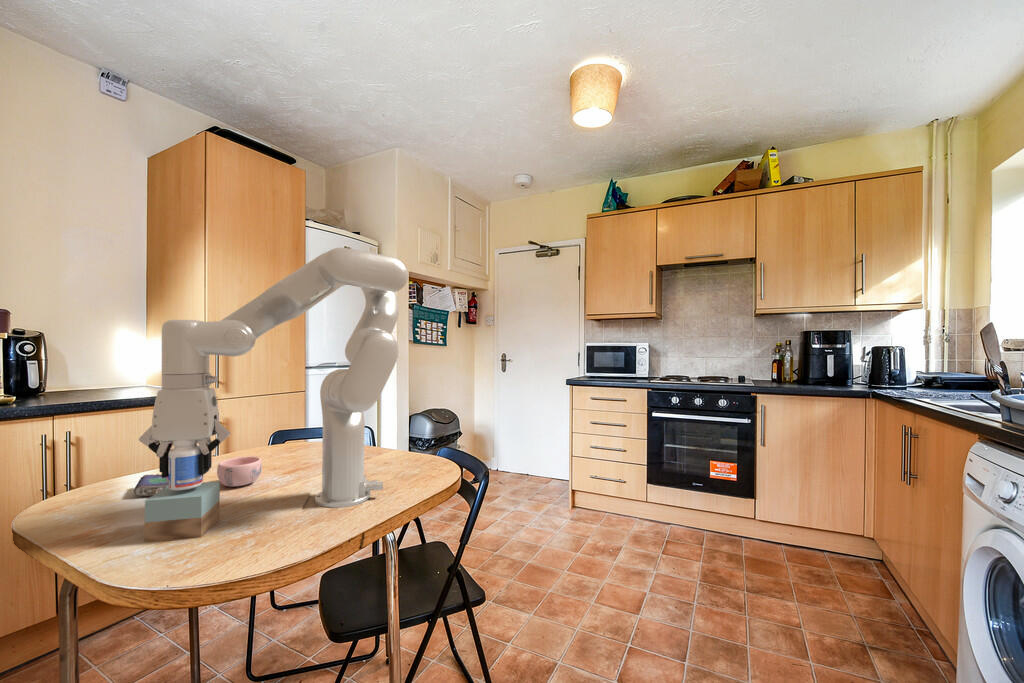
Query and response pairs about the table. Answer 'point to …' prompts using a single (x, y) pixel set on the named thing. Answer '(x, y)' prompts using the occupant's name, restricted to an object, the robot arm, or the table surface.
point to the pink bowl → (239, 471)
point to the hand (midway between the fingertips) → (186, 473)
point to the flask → (150, 485)
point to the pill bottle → (184, 465)
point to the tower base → (182, 526)
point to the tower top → (182, 502)
